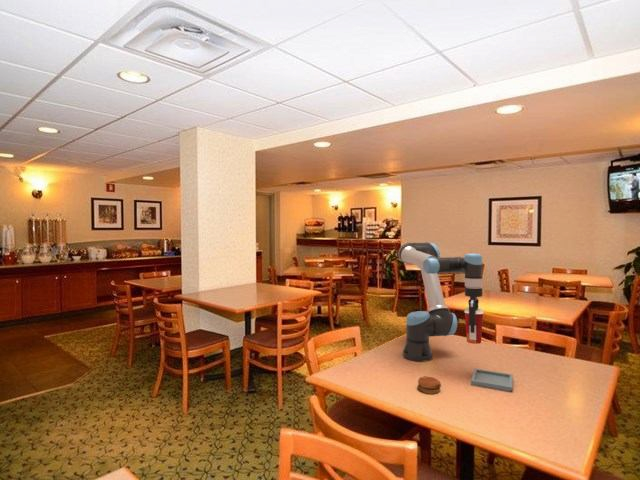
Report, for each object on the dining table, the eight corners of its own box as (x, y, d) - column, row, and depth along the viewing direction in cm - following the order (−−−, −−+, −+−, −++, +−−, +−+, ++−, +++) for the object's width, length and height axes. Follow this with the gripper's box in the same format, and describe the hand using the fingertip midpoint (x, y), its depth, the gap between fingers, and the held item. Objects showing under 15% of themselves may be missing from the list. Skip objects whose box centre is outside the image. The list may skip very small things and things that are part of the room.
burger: (433, 396, 154) (433, 385, 154) (413, 390, 160) (413, 379, 160) (445, 389, 161) (445, 378, 161) (425, 383, 167) (425, 372, 167)
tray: (474, 372, 179) (474, 368, 179) (512, 378, 172) (512, 374, 172) (471, 385, 165) (471, 380, 165) (512, 392, 157) (512, 387, 157)
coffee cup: (480, 340, 178) (480, 307, 178) (486, 344, 170) (486, 311, 170) (462, 339, 179) (461, 307, 179) (466, 344, 171) (466, 310, 171)
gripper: (467, 284, 185) (468, 332, 185) (461, 289, 167) (461, 341, 167) (484, 285, 181) (484, 333, 181) (479, 290, 164) (480, 343, 164)
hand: (473, 337), depth 174 cm, fingers closed on coffee cup, 7 cm apart
